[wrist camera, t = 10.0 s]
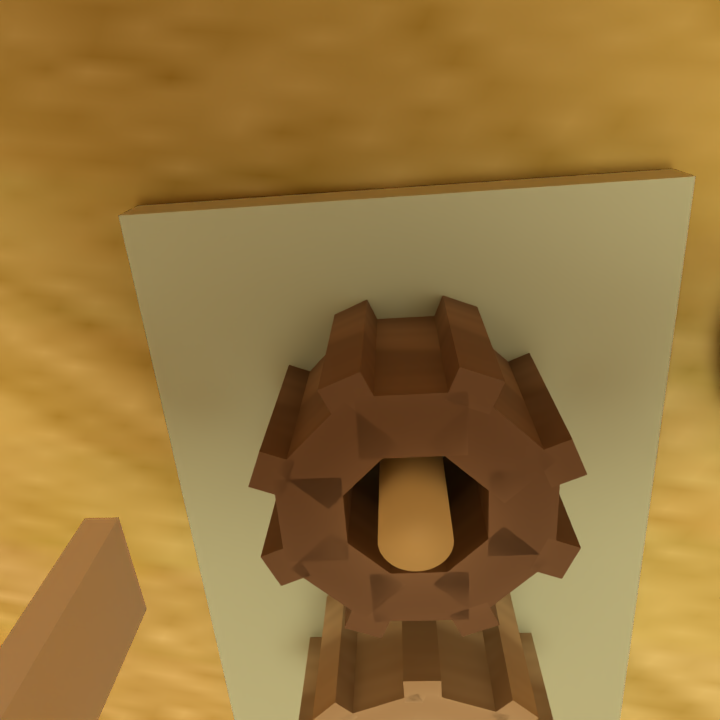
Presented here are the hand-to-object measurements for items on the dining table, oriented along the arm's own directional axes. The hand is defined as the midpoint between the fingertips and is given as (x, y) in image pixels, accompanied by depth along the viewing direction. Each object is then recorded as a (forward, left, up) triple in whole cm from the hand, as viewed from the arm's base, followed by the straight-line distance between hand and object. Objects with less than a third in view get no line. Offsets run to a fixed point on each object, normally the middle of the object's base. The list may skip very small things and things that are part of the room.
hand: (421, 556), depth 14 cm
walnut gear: (+1, 0, -7) cm, 7 cm away
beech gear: (+11, 0, -7) cm, 13 cm away
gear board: (+6, 0, -9) cm, 10 cm away
